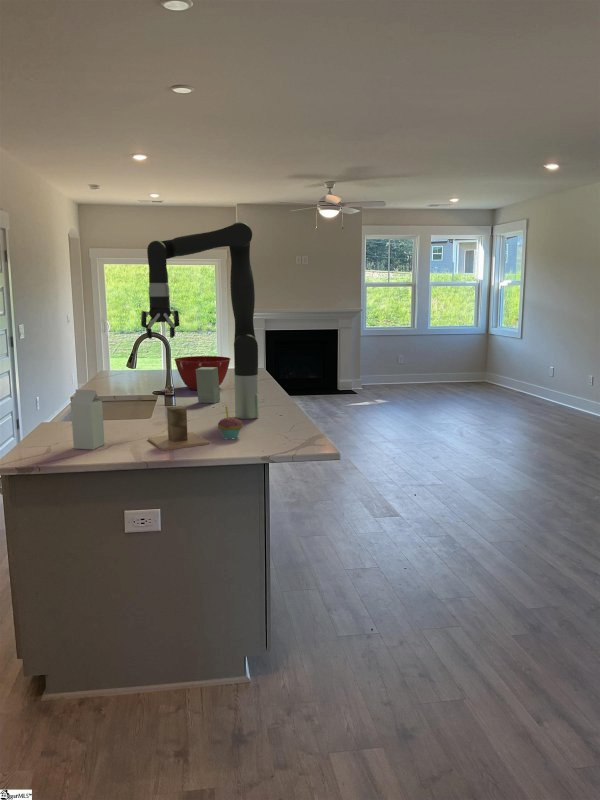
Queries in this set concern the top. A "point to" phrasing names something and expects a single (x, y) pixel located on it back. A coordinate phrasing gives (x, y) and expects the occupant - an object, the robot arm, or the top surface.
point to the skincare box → (208, 385)
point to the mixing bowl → (192, 363)
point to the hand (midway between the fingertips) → (161, 338)
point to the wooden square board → (167, 444)
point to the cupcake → (230, 426)
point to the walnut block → (177, 423)
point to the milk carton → (87, 420)
